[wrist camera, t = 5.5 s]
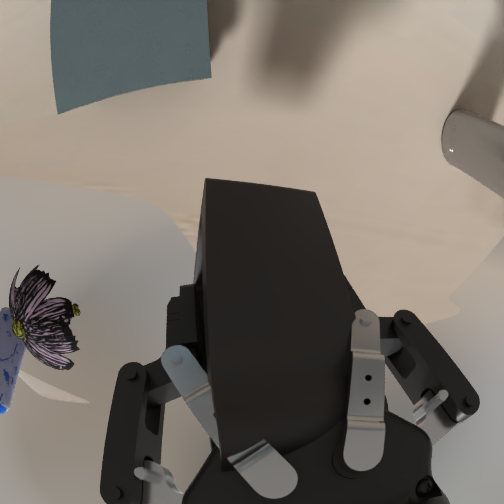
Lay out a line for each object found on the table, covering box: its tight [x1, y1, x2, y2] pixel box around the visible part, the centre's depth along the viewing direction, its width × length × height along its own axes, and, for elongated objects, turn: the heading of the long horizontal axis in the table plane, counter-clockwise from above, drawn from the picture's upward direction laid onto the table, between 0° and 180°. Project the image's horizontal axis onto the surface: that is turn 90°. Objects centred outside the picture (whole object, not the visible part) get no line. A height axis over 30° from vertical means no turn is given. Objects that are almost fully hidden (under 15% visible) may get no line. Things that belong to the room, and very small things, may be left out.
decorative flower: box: [9, 266, 80, 370], centre depth 28 cm, size 15×12×15 cm
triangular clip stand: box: [193, 178, 388, 472], centre depth 12 cm, size 9×6×12 cm, turn 168°
